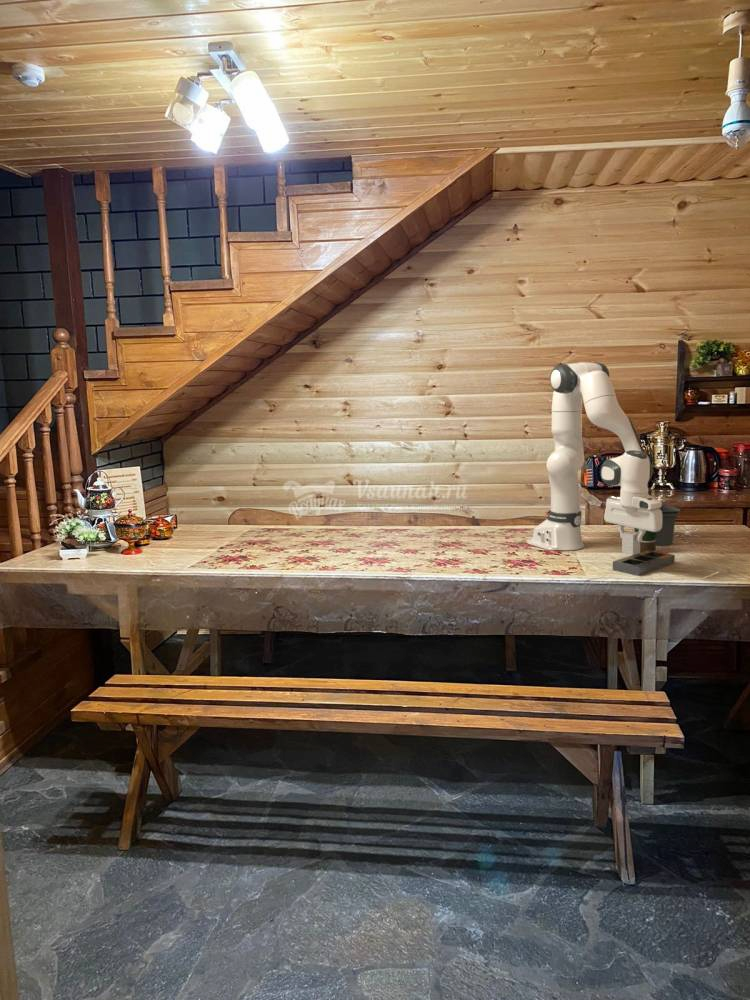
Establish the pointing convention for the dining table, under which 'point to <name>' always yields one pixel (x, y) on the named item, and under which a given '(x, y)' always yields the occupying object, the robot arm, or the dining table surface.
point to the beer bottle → (648, 537)
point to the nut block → (630, 543)
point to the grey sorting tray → (643, 562)
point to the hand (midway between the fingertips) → (630, 539)
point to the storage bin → (667, 525)
